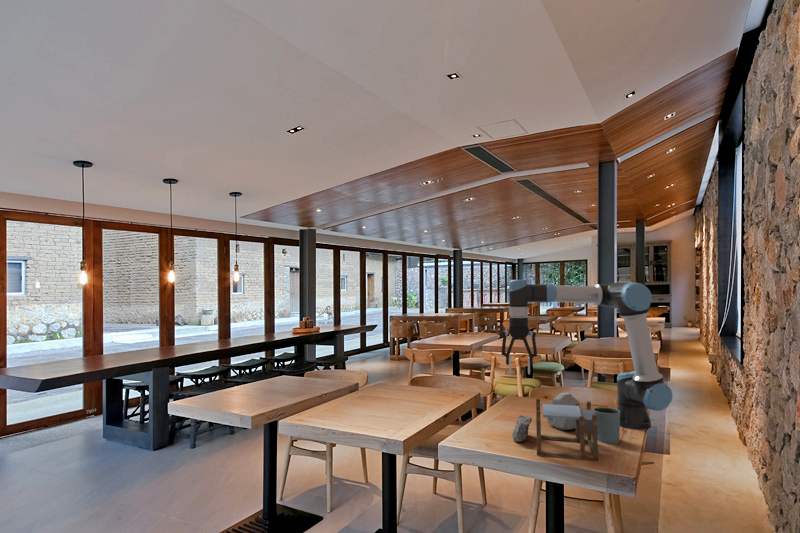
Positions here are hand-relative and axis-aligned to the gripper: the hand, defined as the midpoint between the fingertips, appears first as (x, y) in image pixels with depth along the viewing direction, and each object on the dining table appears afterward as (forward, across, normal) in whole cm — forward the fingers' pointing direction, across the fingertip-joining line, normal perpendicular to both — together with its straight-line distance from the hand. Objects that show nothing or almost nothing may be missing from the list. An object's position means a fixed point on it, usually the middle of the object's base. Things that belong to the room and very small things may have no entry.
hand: (519, 373), depth 195 cm
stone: (+27, -19, -22) cm, 39 cm away
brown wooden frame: (+27, -17, +6) cm, 32 cm away
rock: (+27, 0, -1) cm, 27 cm away
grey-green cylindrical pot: (+27, -34, -9) cm, 44 cm away
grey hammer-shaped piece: (+18, -18, +6) cm, 27 cm away
